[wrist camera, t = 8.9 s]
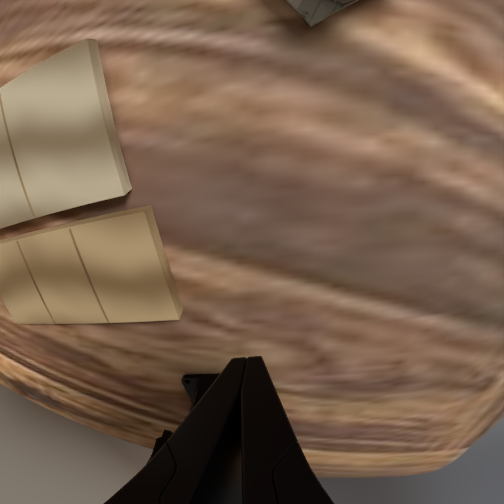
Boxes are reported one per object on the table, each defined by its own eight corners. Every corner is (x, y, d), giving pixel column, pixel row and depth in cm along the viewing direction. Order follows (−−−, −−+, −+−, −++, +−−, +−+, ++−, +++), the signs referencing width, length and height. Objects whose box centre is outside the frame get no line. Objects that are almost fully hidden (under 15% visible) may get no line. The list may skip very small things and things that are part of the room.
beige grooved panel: (132, 188, 19) (124, 195, 18) (-12, 229, 21) (-21, 235, 20) (97, 39, 14) (86, 38, 13) (-44, 125, 17) (-54, 129, 15)
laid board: (183, 309, 23) (179, 320, 22) (21, 316, 25) (15, 323, 24) (151, 204, 20) (144, 212, 18) (-12, 243, 22) (-21, 249, 21)
